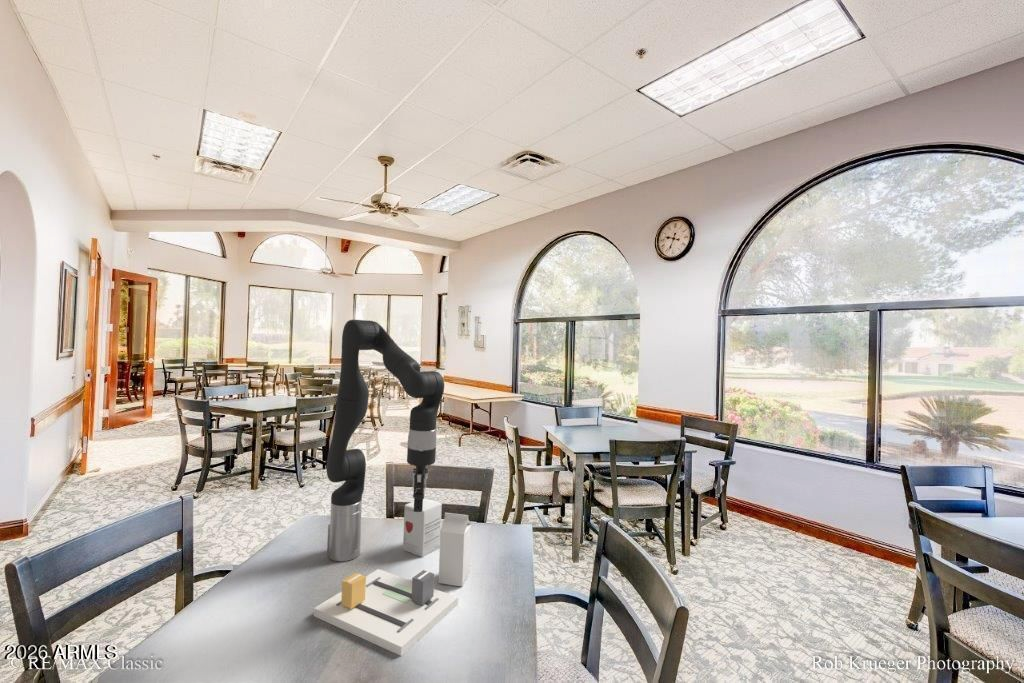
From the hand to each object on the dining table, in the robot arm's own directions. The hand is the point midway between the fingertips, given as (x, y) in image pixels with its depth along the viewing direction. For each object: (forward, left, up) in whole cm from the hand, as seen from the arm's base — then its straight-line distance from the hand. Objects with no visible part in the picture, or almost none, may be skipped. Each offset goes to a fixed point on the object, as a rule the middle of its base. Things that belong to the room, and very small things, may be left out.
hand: (418, 505), depth 120 cm
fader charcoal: (+5, -3, -22) cm, 23 cm away
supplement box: (-16, +23, -25) cm, 38 cm away
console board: (-2, -8, -25) cm, 26 cm away
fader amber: (-9, -13, -22) cm, 28 cm away
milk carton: (+4, +13, -25) cm, 28 cm away
